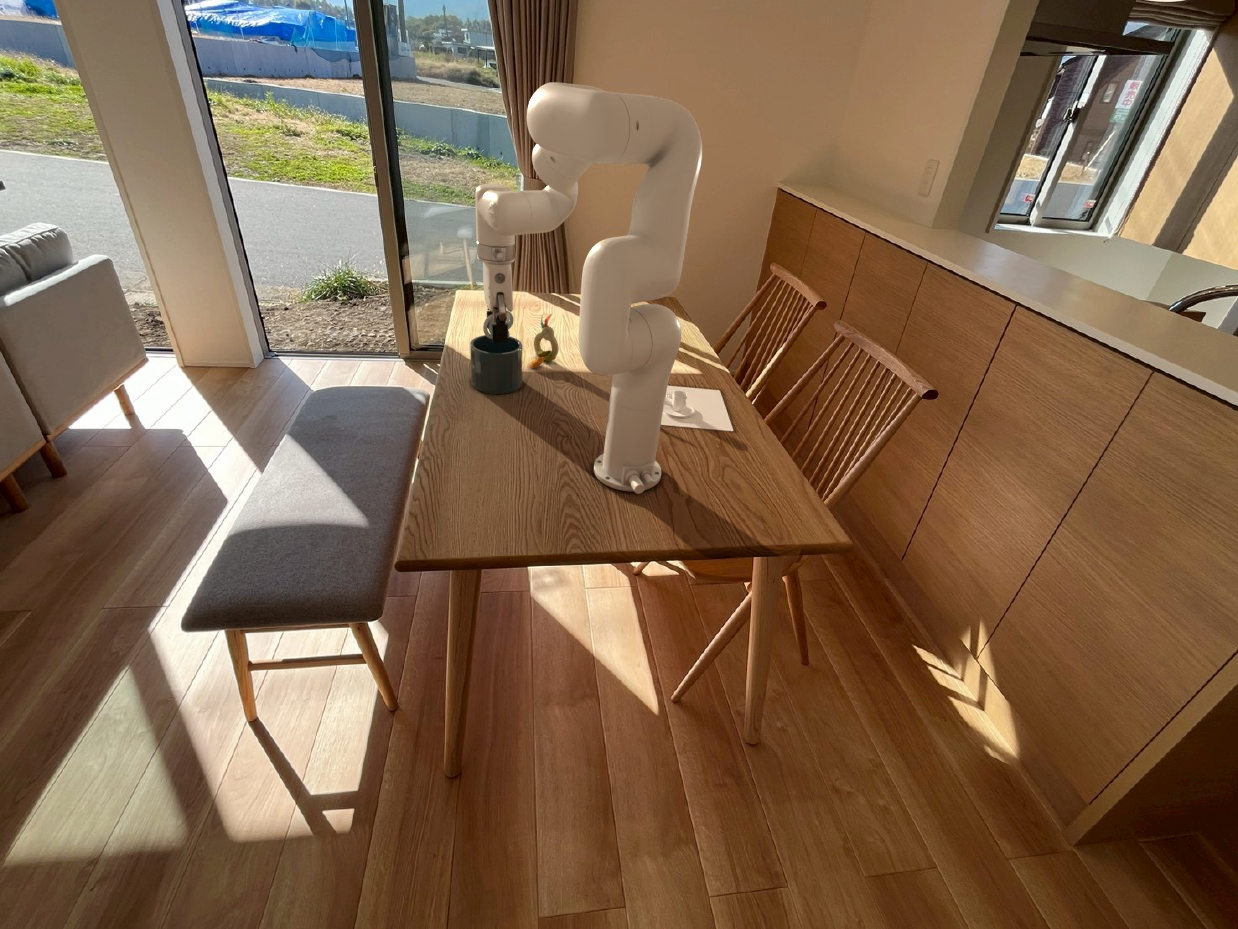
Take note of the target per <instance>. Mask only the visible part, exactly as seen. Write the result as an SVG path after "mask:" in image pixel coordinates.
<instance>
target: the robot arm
mask: <svg viewBox="0 0 1238 929" xmlns="http://www.w3.org/2000/svg"><path fill="white" fill-rule="evenodd" d="M526 125H527V126H526V127H527V129H528V133H529V135H530V137H531V139H532V140H533V142H534V143H535V145H534V147H533V149H532V153H531V154H532V155H531V162H532V165H533V169H534V171H535V173H536V174H537V176H538V178H539V179H540V180H541V182H543V183H544V184H545V185H546V187H544V188H543V189H541V190H537V189H535V190H532V189H531V190H515V191H514V190H513V189H512V187H510V186H508V185H504V184H498V183H483V184H480V185H478V186H477V187H476V189H475V193H474V196H475V197H474V198H475V223H476V224H475V228H476V230H475V231H476V256H477V257H476V259H477V260H478V261H479V262H482V274H483V275H482V279H483V295H484V296H483V297H484V301H485V303H486V318H487V317H488V316H489V315H491V314H493V323H494V324H492V341H493V343H507V342H508V331H509V330H508V324H507V312H506V310H507V311H509V312H510V313H512V312H513V311H514V294H513V293H514V292H513V291H514V290H513V273H512V264H513V263H514V262H515V260H516V236H522V235H523V236H524V235H531V234H532V235H533V234H544V233H549V232H552V231H554V230H556V229H557V228H558V227H560V226H561V225H562V224H563V223H564V222H565V221H566V220H567V218H569V216H570V215H571V214H572V213H573V211H574V210H575V208H576V205H577V202H578V195H579V183H578V182H579V180H580V179H581V177H582V176H583V175H584V174H585V173H586V171H587V170H588V169H589V168H590V167H591V166H592V164H599V165H646V166H647V168H648V169H647V171H646V173H645V174H644V175H643V177H642V179H641V181H640V183H639V184H638V187H637V189H636V191H635V194H634V197H633V200H632V205H631V216H630V217H631V218H630V224H629V230H628V233H627V234H626V235H622V236H613V237H608V238H605V239H602V240H600V241H598V242H597V243H596V244H595V245H593V246H592V248H591V249H590V250H589V252H588V254H587V256H586V258H585V260H584V264H583V266H582V273H581V284H580V285H581V286H580V300H579V301H580V303H579V316H578V317H579V320H578V349H579V354H580V357H581V360H582V362H583V364H584V366H585V367H586V368H587V369H588V370H589V372H590V373H593V374H594V375H596V376H600V377H611V376H612V380H611V384H610V389H609V392H610V393H609V399H608V408H607V418H606V427H605V438H604V447H603V453H602V454H600V455H599V456H598V457H596V458H595V460H594V463H593V473H594V475H595V477H596V478H597V480H598V481H599V482H601V483H602V484H604V485H605V486H607V487H609V488H612V489H615V490H618V491H623V492H634V493H635V494H636V495H640V494H642V493H643V492H645V491H646V490H649V489H651V488H654V487H655V486H657V484H658V483H659V482H660V481H661V477H662V468H661V465H660V464H659V462H658V461H657V460H656V457H657V451H658V445H659V439H660V432H661V427H662V425H661V421H662V415H663V408H664V403H665V397H666V391H667V386H669V381H670V376H671V373H672V370H673V367H674V364H675V361H676V359H677V356H678V353H679V350H680V347H681V344H682V343H681V341H682V327H681V323H680V321H679V318H678V317H677V315H676V313H674V312H673V310H671V309H670V308H668V307H667V306H665V305H662V304H658V303H645V304H640V303H644V302H650V301H654V300H659V299H662V298H665V297H667V296H670V295H671V294H673V293H674V292H675V291H676V290H677V288H678V287H679V284H680V282H681V278H682V273H683V267H684V261H685V253H686V246H687V240H688V235H689V234H688V233H689V227H690V218H691V209H692V205H693V204H692V203H693V200H694V194H695V192H696V186H697V183H698V179H699V174H700V171H701V166H702V160H703V159H702V158H703V142H702V135H701V131H700V128H699V126H698V123H697V121H696V119H695V117H694V116H693V115H692V113H691V112H690V111H689V110H688V109H687V108H686V107H685V106H683V105H682V104H680V103H679V102H676V101H674V100H672V99H669V98H665V97H660V96H656V95H649V94H648V95H647V94H635V93H624V92H613V91H606V90H604V89H602V88H600V87H596V86H593V85H586V84H577V83H565V82H556V81H554V82H546V83H545V84H543V85H541V86H539V87H538V88H537V89H536V90H535V92H534V93H533V94H532V96H531V98H530V100H529V102H528V106H527V110H526ZM635 304H639V305H635ZM632 305H634V306H632ZM496 313H499V315H497V317H496ZM489 322H490V321H489ZM487 330H489V323H488V325H487Z"/></svg>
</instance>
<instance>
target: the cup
mask: <svg viewBox="0 0 1238 929" xmlns="http://www.w3.org/2000/svg"><path fill="white" fill-rule="evenodd" d="M469 350H470V380H471V385H472V387H473V388H474V389H475V390H477V391H479V392H481V393H485V394H490V395H491V394H492V395H504V394H511V393H514V392H516V391H518V390H519V389H520V388H521V387H522V385H523V350H524V349H523V343H522V341H520V340H519V339H518V338H516V337H513V336H509V338H508V342H507V343H493V341H492V339H490V338H488V337H487V336H486V335H485V334H484V335H479V336H476V337H475V338H473V339H471V340H470V342H469Z"/></svg>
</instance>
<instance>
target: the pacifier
mask: <svg viewBox="0 0 1238 929" xmlns="http://www.w3.org/2000/svg"><path fill="white" fill-rule="evenodd" d="M506 312H507V324H508V338H509V336H510V335H511V334H510V331H509V330H510V329H511V328H512V326H513V325H514V321H515V320H514V316H513V314H512V312H510V311H508V310H507V309H506ZM497 315H499V313H496V317H497ZM489 321H490V322H489ZM488 323H489V329H488V328H487V325H488ZM492 324H494V323H493V314H491V315H489V316H488V317H487V316H486V318H485V320H484V322H483V325H482V330H483V333H484V335H486V336H487V337H488V338H490V339H492ZM510 337H511V336H510Z"/></svg>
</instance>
